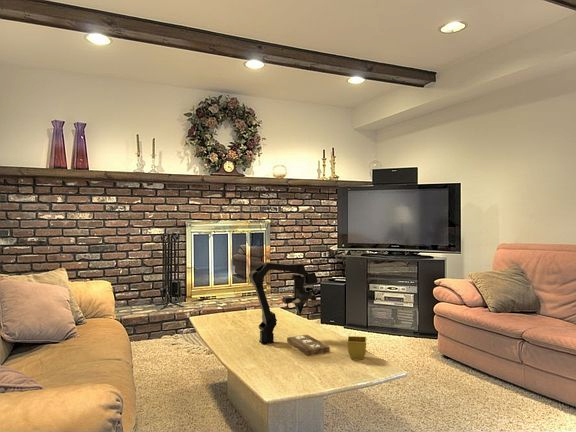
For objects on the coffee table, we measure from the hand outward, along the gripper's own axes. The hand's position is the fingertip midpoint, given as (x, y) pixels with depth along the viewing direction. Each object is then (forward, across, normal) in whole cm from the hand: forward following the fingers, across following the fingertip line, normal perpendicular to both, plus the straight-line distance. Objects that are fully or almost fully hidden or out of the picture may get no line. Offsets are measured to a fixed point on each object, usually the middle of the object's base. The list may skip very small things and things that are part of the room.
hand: (299, 314), depth 232 cm
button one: (+13, -4, -9) cm, 16 cm away
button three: (+12, -4, -26) cm, 29 cm away
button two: (+12, -4, -17) cm, 21 cm away
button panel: (+13, -4, -17) cm, 22 cm away
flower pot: (+13, +10, -43) cm, 46 cm away
